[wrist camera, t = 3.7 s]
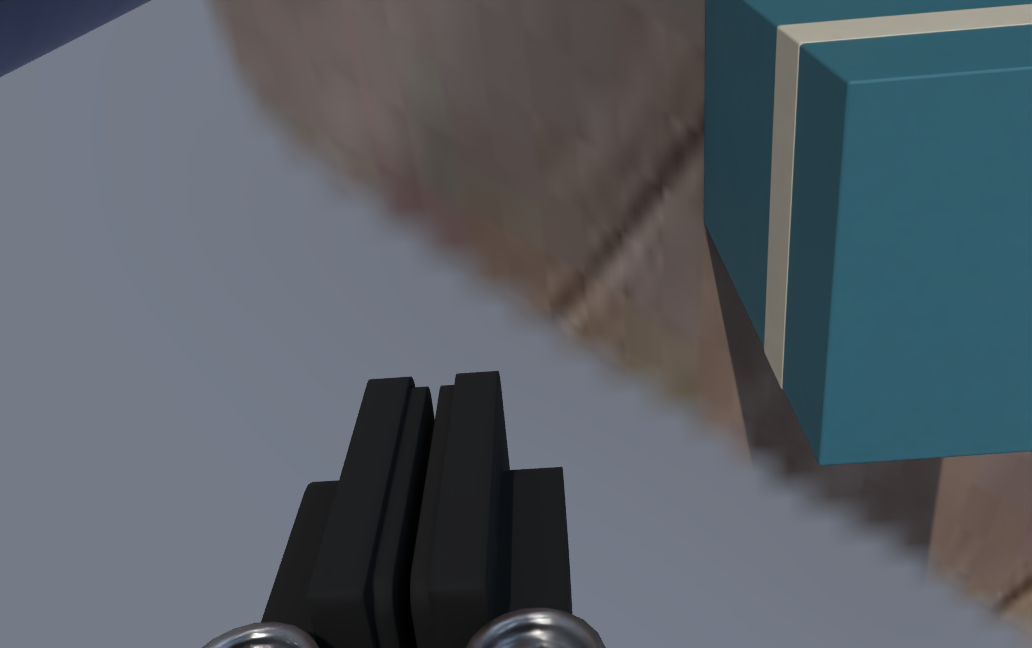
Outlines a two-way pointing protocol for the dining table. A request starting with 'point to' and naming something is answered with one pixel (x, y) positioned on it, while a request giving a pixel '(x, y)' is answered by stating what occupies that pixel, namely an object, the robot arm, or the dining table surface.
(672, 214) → the dining table surface
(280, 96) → the dining table surface
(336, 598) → the robot arm
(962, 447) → the carton
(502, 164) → the dining table surface
